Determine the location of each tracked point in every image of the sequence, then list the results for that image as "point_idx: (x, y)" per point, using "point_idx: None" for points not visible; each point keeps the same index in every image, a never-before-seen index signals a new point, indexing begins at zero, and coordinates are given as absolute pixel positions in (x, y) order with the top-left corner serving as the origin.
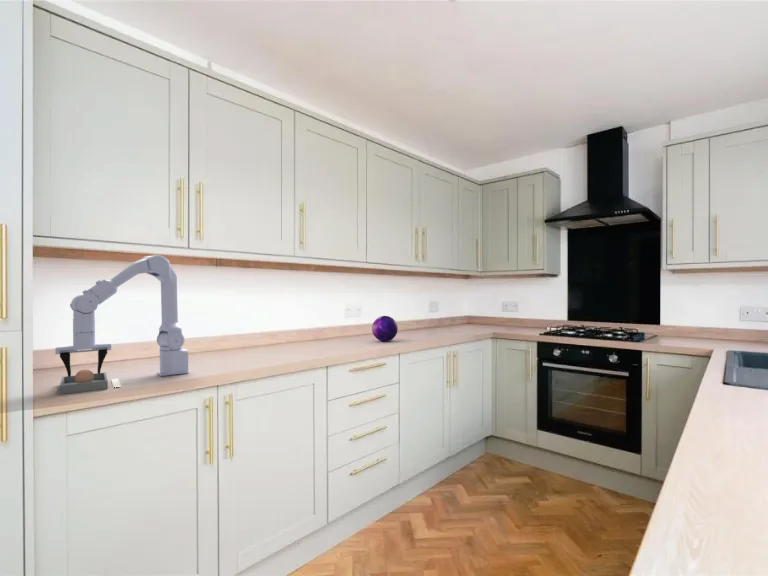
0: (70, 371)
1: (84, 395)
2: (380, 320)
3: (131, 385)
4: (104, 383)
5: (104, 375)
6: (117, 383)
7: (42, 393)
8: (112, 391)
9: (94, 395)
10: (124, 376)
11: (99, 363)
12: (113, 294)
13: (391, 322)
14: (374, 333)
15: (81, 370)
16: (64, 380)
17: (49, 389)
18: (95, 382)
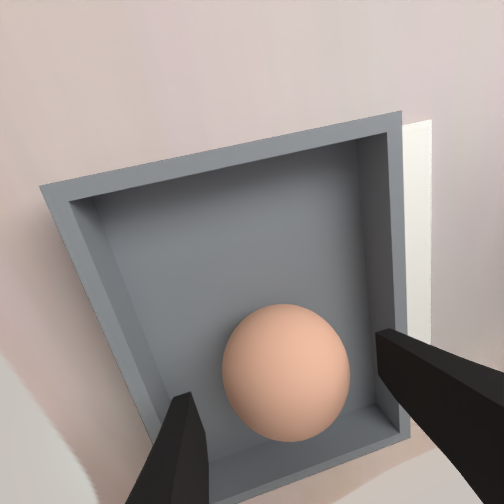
0: (205, 476)
1: (303, 493)
2: None
3: (469, 356)
4: (386, 428)
5: (393, 269)
6: (421, 298)
7: (72, 426)
8: (397, 449)
9: (339, 498)
10: (472, 20)
11: (464, 464)
12: None
13: None
14: None
15: (285, 429)
16: (83, 198)
17: (55, 327)
18: (354, 455)
